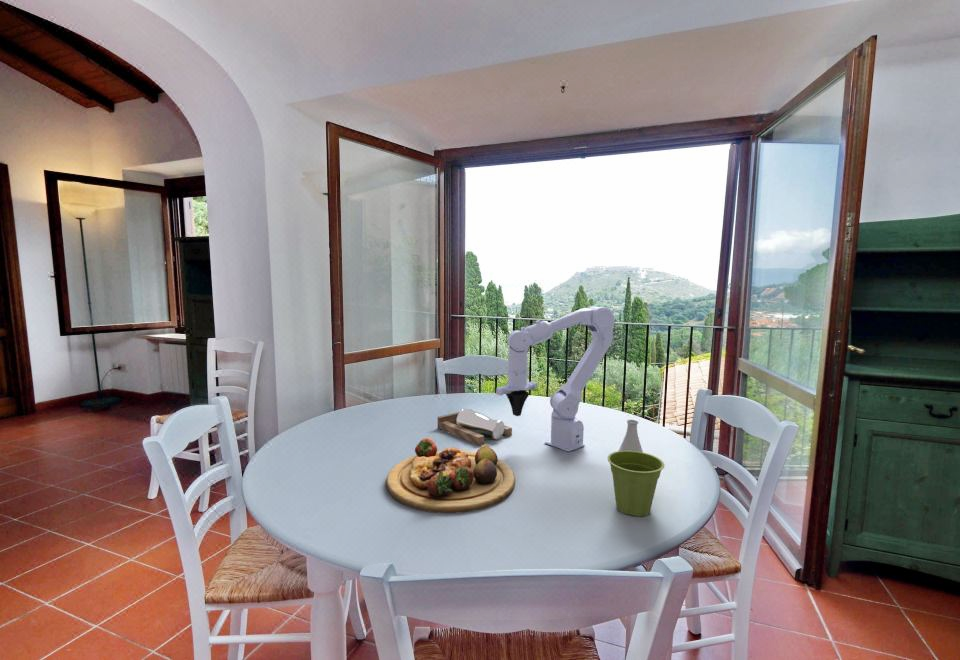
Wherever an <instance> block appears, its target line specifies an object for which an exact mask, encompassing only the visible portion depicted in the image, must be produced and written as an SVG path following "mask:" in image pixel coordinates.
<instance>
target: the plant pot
mask: <svg viewBox="0 0 960 660" xmlns="http://www.w3.org/2000/svg"><path fill="white" fill-rule="evenodd" d="M607 461H608V462H609V465H610V471H611V474H612V480H613V489H614V499H615V506H616V508H617V509H618V510H619V511H620V512H621V513H623V514H626V515H632V516H634V517H644V516H647V515H649V514H650V512H651V509H652V507H653V506H652V505H653V501H654V497H655V493H656V489H657V484H658V480H659V478H660V476H661V472H662V470H664V468H665V463H664V461H663V460H662V459H661V458H659V457H657V456H655V455H653V454H650V453H646V452H644V451H643V452H638V451H619V450H617V451H613V452H611V453H609V454H608V455H607Z"/></svg>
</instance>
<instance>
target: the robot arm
mask: <svg viewBox="0 0 960 660" xmlns="http://www.w3.org/2000/svg"><path fill="white" fill-rule="evenodd" d="M615 324H616V320H615V316H614V314H613V312H612V310H611V309H610V308H607V307H601V306H597V305H588V306H587V307H583V308H580V309H578V310H575V311H572V312H570V313H568V314H565V315H563V316H562V317H559V318H557V319H555V320H552V321H550V322H548V321H546V320H540V319H538V320H535V323H533V324H531V325H528V326H526V327H525V326H522V327H520V330H518V329H517V330H512V331H511V332H510V333H509V334H508V335H507V338H506V344H507V345H508V356H507V357H508V358H507V359H508V361H507V384H504V385H502V386H500V387H496V389H495V392H496V395H498V396H503V395H505V396H506V397H507V399H508V401H509V404H510V406H511V412H512V415H513V416H515V417H520V416H521V414H522V411H523V408H524V405H525V403H526V401H527V399H528V397H529V395H530V394H529V392H528V391H529V390H530V391H531V390H537V389H538V382H535V381H528V349H529V348H530V346H531V347H532V346H535V345H537V344H540V343H543V342H544V341H547V340H549V339H550V340H551V338H552V336H553V335H554V333H556V332H559V331H562V330H565V329H568V328H570V327H574V326H576V325H585V326H587V328H589V330H590V334H591V337H592V339H591V340H592V341H591V342H590V343H589V345H588V347H587V349H586V350H585V352H584V354H583V355H582V356H581V359H580V360H579V362H578V363H577V365H576V366H575V368H574V370H573V371H572V372H571V374H570V376H569V378H568V380H567V381H566V382H565V383H564V384H562V385H561V386H559V388H558V390H557V391H555V392H554V393H552V395H551V396H550V399H549V405H550V406H551V408H552V412H551V417H550V418H551V422H550V423H551V424H550V430H551V431H550V439H549V440H545V441H544V444H546V445H548V446H552V447H554V448H557V449H560V450H562V451H566V452H572V451H574V450H577V449H579V448H582V447H583V448H584V447H585V443H584V428H585V427H584V423H583V422H582V421H581V420H579V419H578V418H577V417H576V415H577V414H578V412H579V405H580V403H581V401H582V392H583V391H584V388H585V387H586V386H587V384H588V382H589V381H590V379H591V378H592V376H593V375H594V372H595V371H596V369H597V368H598V366H599V364H600V362H602V360H603V358H604V356H605V355H606V353H607V352H608V349H609V348H610V346H611V344H612V343H613V337H614V326H615Z"/></svg>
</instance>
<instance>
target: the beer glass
mask: <svg viewBox="0 0 960 660" xmlns="http://www.w3.org/2000/svg"><path fill="white" fill-rule="evenodd" d="M458 412H459V414H458V416H457V421H456V422H457V425H458V426H460V427H463V428H465V429H468V430H471V431H473V432H476V433H478V434H484V435H488V436H490V437H492V438H493V439H494V440H496V441H498V440H500V439H501V438H502V437H503V433H504V428H505V426H506V425H505V422H504V421H503V420H499V419H493V418H490V417H488V416H487V415H485V414H483V413H482V412H479V411H477V410H473V409H471V410H469V409H468V408H462V409H461V410H460V411H458ZM504 425H505V426H504Z"/></svg>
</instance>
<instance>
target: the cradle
mask: <svg viewBox="0 0 960 660" xmlns="http://www.w3.org/2000/svg"><path fill="white" fill-rule="evenodd" d="M468 410H472V409H468ZM459 412H460V411H457V412H454V413H448V414H444V415H440V416H437V429H438V428H439V429H438V430H440V429H442V430H441V431H443V430H444V431H443V432H445V431H446V432H445V433H447V432H449V433H448V434H450V433H451V434H450V435H452V434H453V435H452V436H454V435H455V437H457V436H458V437H457V438H459V437H460V439H462V440H465V441H466V440H467V442H469V441H470V442H469V443H471V442H472V443H471V444H473V443H474V445H476V446H482V445H485V442H486V441H488V440H492V437H490V436H488V435H484V434H478V433H476V432H473V431H471V430H468V429H465V428H463V427H460V426H458V425H457V422H456V421H457V416H458V414H459ZM504 426H505V428H504V433H503V435H502V437H503V436H504V437H505V436H506V438H508V437H511V436H512V435H513V428H512V427H511V426H507V425H506V424H504ZM507 436H508V437H507ZM481 444H482V445H481Z"/></svg>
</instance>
